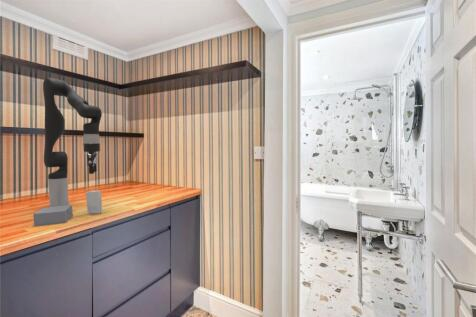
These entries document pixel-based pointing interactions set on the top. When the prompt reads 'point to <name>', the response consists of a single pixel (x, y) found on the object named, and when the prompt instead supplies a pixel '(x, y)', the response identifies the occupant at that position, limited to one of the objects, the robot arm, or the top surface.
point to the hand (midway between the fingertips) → (93, 172)
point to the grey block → (53, 215)
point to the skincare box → (94, 202)
